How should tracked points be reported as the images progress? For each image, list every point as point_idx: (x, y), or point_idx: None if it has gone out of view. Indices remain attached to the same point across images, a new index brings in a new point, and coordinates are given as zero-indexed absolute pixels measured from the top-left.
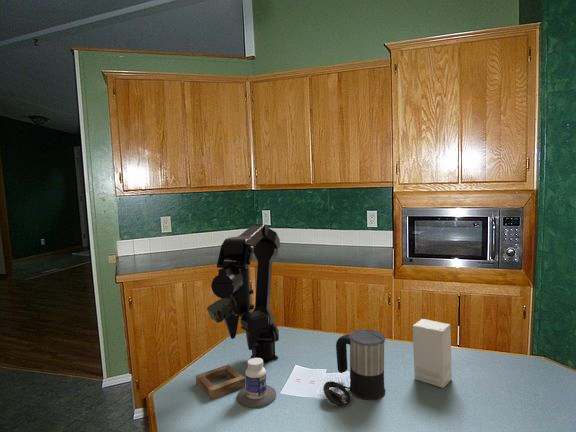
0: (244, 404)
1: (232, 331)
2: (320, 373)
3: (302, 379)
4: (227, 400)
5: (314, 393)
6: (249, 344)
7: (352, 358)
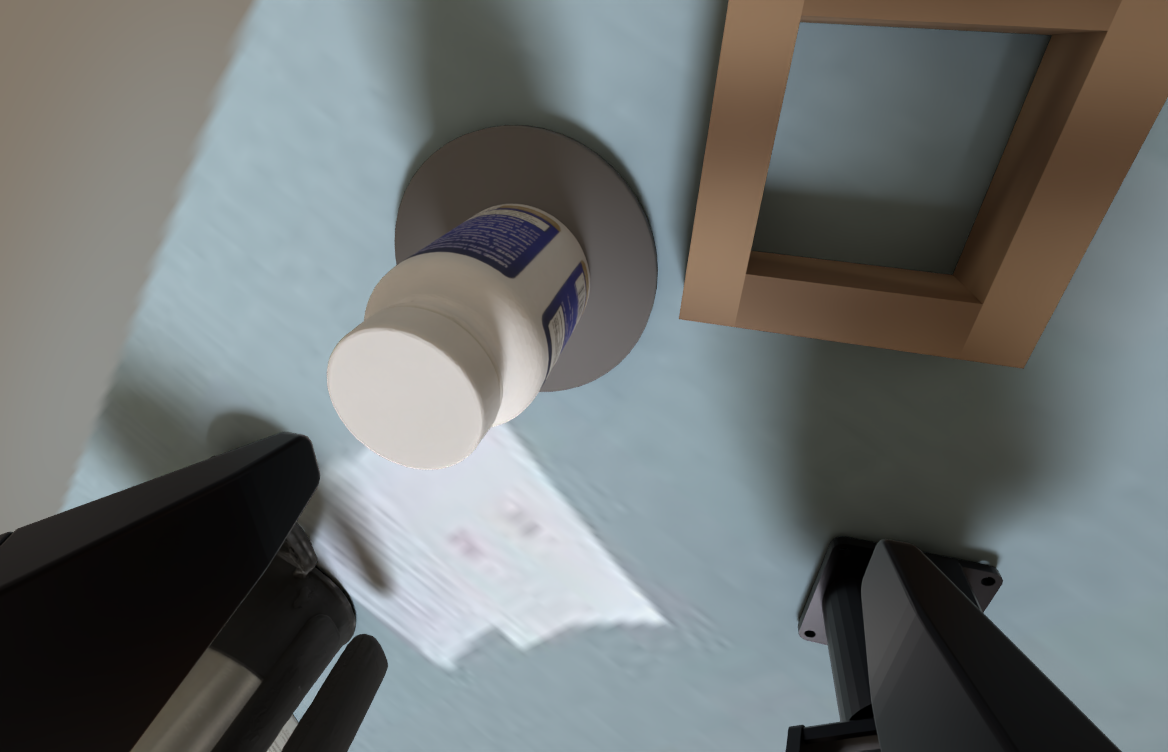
0: (469, 133)
1: (920, 698)
2: (504, 610)
3: (513, 537)
4: (628, 70)
5: (375, 481)
6: (152, 481)
7: (161, 713)
